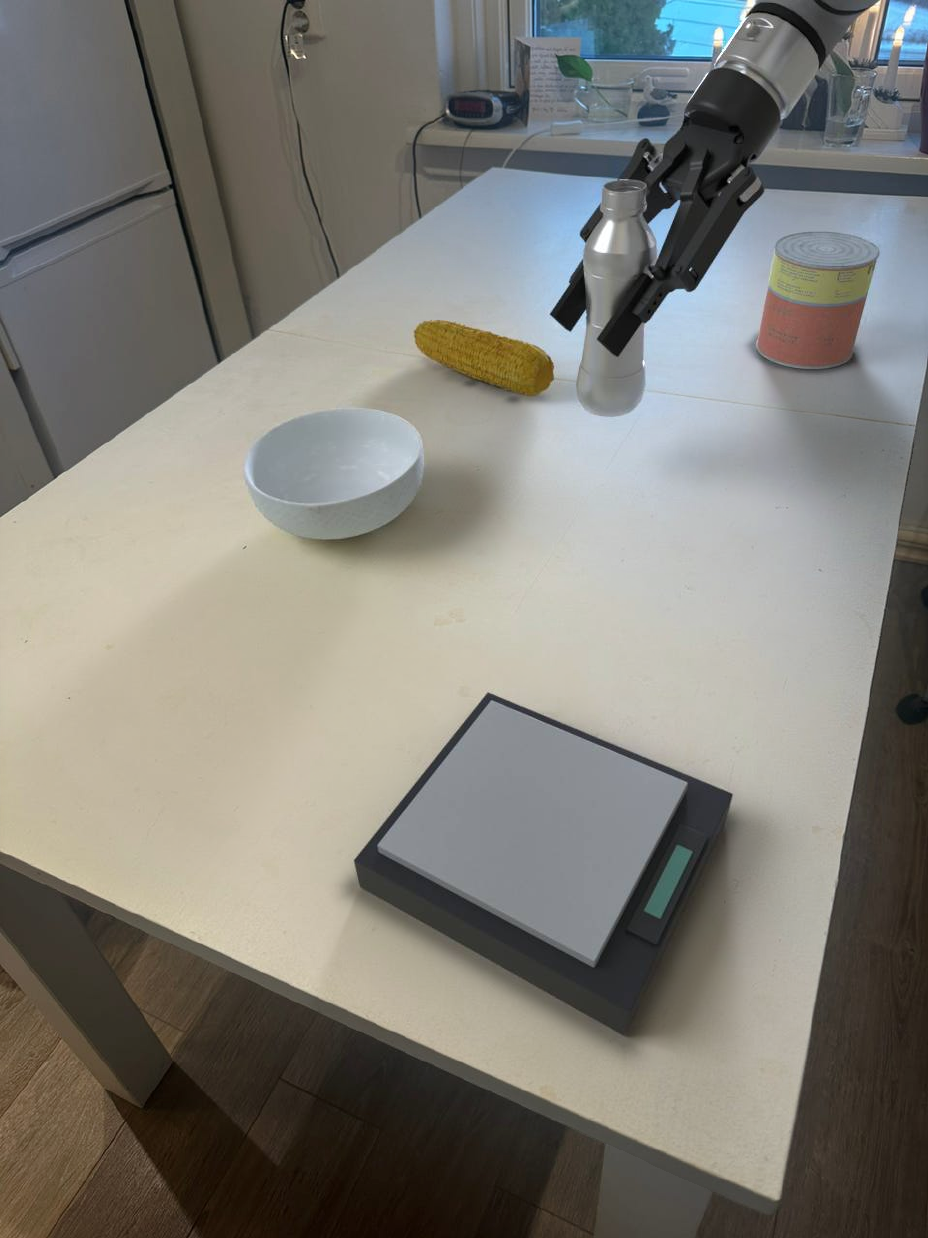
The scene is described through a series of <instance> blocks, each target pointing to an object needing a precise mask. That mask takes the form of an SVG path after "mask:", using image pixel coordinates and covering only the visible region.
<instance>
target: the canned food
mask: <svg viewBox="0 0 928 1238" xmlns="http://www.w3.org/2000/svg"><path fill="white" fill-rule="evenodd" d="M773 250H774V251H773V256H772V261H771V267H770V273H769V278H768V283H767V287H766V288H767V289H766V294H765V298H764V299H765V300H764V304H763V310H762V313H761V314H762V315H761V320H760V326H759V331H758V336H757V340H756V343H755V349H756V351H757V352H758V353H759V354H760V355H761V356H762V357H763V358H764V359H766V360H768V361H770V362H772V363H775V364H777V365H781V366H783V367H784V366H785V367H788V368H793V369H799V370H800V369H801V370H824V369H825V370H826V369H831V368H836V367H838V366H841V365H844V364H845V363H847V362H849V361H850V360H851V358H852V357H853V354H854V347H855V342H856V339H857V336H858V331H859V328H860V325H861V320H862V317H863V313H864V310H865V306H866V302H867V299H868V298H867V297H868V295H869V290H870V288H871V287H870V286H871V283H872V279H873V275H874V272H875V268H876V265H877V262H878V261H877V260H878V258H879V257H880V249H879V247H878V246H877V245H876V244H875V243H873V242H872V241H870V240H868V239H865V238H863V237H860V236H856V235H852V234H848V233H842V232H834V231H804V232H803V231H802V232H797V233H792V234H788V235H785V236H783V237H781V238H779V239H778V240H777V241H776V242H775V243H774V247H773Z"/></svg>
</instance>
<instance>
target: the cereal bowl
mask: <svg viewBox="0 0 928 1238" xmlns="http://www.w3.org/2000/svg"><path fill="white" fill-rule="evenodd" d="M424 470H425V452H424V445H423V439H422V437H421V434H420V433H419V431H418V430H417V429H416V427H415V426H414V425H413V424H412V423H411V422H409V421H408V420H406V419H405V418H403V417H401V416H399V415H396V414H394V413H390V412H387V411H383V410H378V409H372V408H364V407H363V408H362V407H338V408H329V409H324V410H323V409H322V410H317V411H313V412H308V413H305V414H302V415H299V416H296V417H292V418H290V419H287V420H285V421H283V422H281V423H279V424H277V425H275V426H273V427H272V428H270V429H268V430H267V431H266V432H264V433H263V434H262V435H261V436H259V437H258V438H257V439H256V440H255V441H254V442H253V443H252V444H251V446H250V447H249V448H248V450H247V451H246V454H245V457H244V459H243V464H242V472H243V473H242V474H243V478H244V482H245V485H246V487H247V491H248V493H249V496H250V498H251V501H253V503H254V506H255V507H256V508H257V510H258V512H259V513H260V514H261V515H262V516H263V517H264V518H265V519H266V520H267V521H268V522H269V523H271V524H272V525H274V526H275V527H277V528H278V529H280V530H282V531H283V532H285V533H289V534H291V535H294V536H297V537H300V538H305V539H312V540H323V541H326V540H340V539H342V540H343V539H347V538H353V537H358V536H361V535H365V534H367V533H371V532H373V531H375V530H377V529H379V528H382V527H383V526H386V525H387V524H388V523H390V522H392V521H393V520H394V519H396V518H397V517H398V516H399V515H401V514H402V513H403V512H404V511H406V509H408V507H409V505H411V503H412V502H413V500H414V499H415V498H416V495H417V494H418V492H419V490H420V488H421V486H422V485H421V484H422V482H423V476H424Z"/></svg>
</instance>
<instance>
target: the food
mask: <svg viewBox="0 0 928 1238" xmlns="http://www.w3.org/2000/svg"><path fill="white" fill-rule="evenodd" d="M413 333H414V335H413V337H414V344H415V346H416V347H417V349H418V350H419V351H420V352H421V353H422V354H424V355H425V356H426V357H428V358H429V359H431V360H433V361H435V362H436V363H439V364H441V365H442V366H445V367H447V368H450V369H453V371H455V372H457V373H461V374H464V375H465V376H467V377H470V378H472V379H474V380H479V381H482V382H484V383H486V384H489V385H491V386H497V387H499V388H500V389H505V390H507V391H509V392H512V393H515V394H520V395H522V396H523V395H525V396H529V397H530V396H531V397H533V396H538V395H540V394H541V393H543V392H544V391H546V390H547V389H549V387H551V384H552V382H553V381H555V373H554V369H555V364H554V362H553V361H552V357H551V356H550V355H549V354H548V353H547V352H546V351H545V350H543V348H541V347H539V346H537V345H535V344H532V343H529V342H527V341H523V340H519V339H514V338H510V337H507V336H505V335H503V336H502V335H499V334H495V333H492V332H491V331H488V330H483V329H480V328H473V327H471V326H467V325H466V324H461V323H458V322H456V321H448V320H442V319H436V320H433V319H430V320H423V322H419V324H418V325H417V326H416V329H415V330H413Z"/></svg>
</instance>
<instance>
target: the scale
mask: <svg viewBox="0 0 928 1238" xmlns="http://www.w3.org/2000/svg"><path fill="white" fill-rule="evenodd" d="M432 760H433V761H432V762H431V763H430V764H429V765H428V766H427V768H426V769H425V770H424V771H423V773H422V774H421V775H420V777H419V778H418V779H417V781H416V782H415V783H414V784H413V785H412V787H411V788H410V789H409V790H408V792H407V793H406V794H405V795H404V797H403V798H402V799H401V800H400V802H398V804H397V806H395V807H394V809H393V811H392V812H391V813H390V814H389V816H388V817H387V818H386V819H385V821H384V822H383V823H382V824H381V826H380V827H379V828H378V829H377V830H376V832H375V833H374V834H373V836H372V837H371V838H370V839H369V840H368V842H367V843H366V845H365V846H363V848H362V849H361V851H360V852H358V854H357V855H356V857H355V858H354V859H353V863H354V868H355V872H356V876H357V880H358V885H359V887H360V888H361V889H363V890H365V891H366V892H368V893H370V894H371V895H374V896H376V898H379V899H380V900H382V901H384V902H386V903H388V904H389V905H392V906H393V907H395V908H396V909H398V910H400V911H402V912H404V913H405V914H407V915H409V916H411V917H412V918H414V919H416V920H417V921H419V922H422V923H423V924H425V925H427V926H429V927H430V928H432V929H434V930H436V931H437V932H439V933H441V934H443V935H444V936H446V937H448V938H450V939H451V940H453V941H455V942H457V943H459V944H461V946H464V947H466V948H467V949H469V950H471V951H473V952H475V953H476V954H478V955H480V956H482V957H484V958H485V959H487V960H489V961H491V962H492V963H494V964H496V965H498V966H500V967H501V968H503V969H505V970H506V971H508V972H510V973H512V974H514V975H515V976H518V977H519V978H521V979H523V980H524V981H526V982H527V983H530V984H531V985H533V986H535V987H536V988H538V989H540V990H541V991H544V992H546V993H547V994H549V995H551V996H552V997H555V998H556V999H558V1000H559V1001H561V1002H564V1003H565V1004H567V1005H568V1006H570V1007H572V1008H574V1009H576V1010H578V1011H579V1012H581V1013H582V1014H584V1015H586V1016H588V1017H590V1018H591V1019H594V1020H595V1021H597V1022H599V1023H600V1024H602V1025H604V1026H606V1027H608V1028H610V1029H611V1030H612V1031H615V1032H617V1033H619V1034H620V1035H622V1036H624V1037H626V1036H627V1034H628V1032H629V1030H630V1027H631V1025H632V1024H633V1021H634V1020H635V1017H636V1015H637V1013H638V1010H639V1009H640V1006H641V1004H642V1002H643V1000H644V998H645V995H646V994H647V991H648V989H649V988H650V985H651V983H652V981H653V978H654V976H655V974H656V972H657V970H658V968H659V965H660V964H661V961H662V959H663V957H664V955H665V953H666V951H667V949H668V946H669V944H670V942H671V940H672V938H673V935H674V933H675V931H676V928H677V927H678V925H679V923H680V920H681V918H682V916H683V914H684V912H685V910H686V908H687V905H688V903H689V901H690V899H691V897H692V895H693V893H694V890H695V888H696V887H697V884H698V882H699V880H700V878H701V875H702V873H703V871H704V869H705V867H706V865H707V862H708V861H709V858H710V856H711V854H712V852H713V850H714V848H715V846H716V844H717V842H718V839H719V837H720V835H721V833H722V831H723V828H724V827H725V824H726V822H727V818H728V815H729V811H730V807H731V803H732V799H733V795H734V794H733V793H732V792H729V791H727V790H725V789H723V788H720V787H718V786H716V785H712V784H710V783H708V782H706V781H704V780H701V779H699V778H696V777H693V776H691V775H689V774H686V773H684V772H681V771H679V770H676V769H674V768H672V767H670V766H667V765H664V764H663V763H660V762H658V761H655V760H653V759H650V758H648V757H646V756H643V755H641V754H639V753H636V752H633V751H632V750H629V749H626V748H624V747H621V746H619V745H617V744H614V743H612V742H609V741H607V740H605V739H602V738H600V737H597V736H595V735H592V734H590V733H587V732H585V731H583V730H581V729H578V728H575V727H573V726H571V725H569V724H566V723H564V722H561V721H559V720H556V719H554V718H552V717H549V716H547V715H545V714H543V713H539V712H537V711H535V710H532V709H530V708H528V707H525V706H523V705H520V704H518V703H516V702H514V701H511V700H508V699H506V698H503V697H501V696H499V695H496V694H493V693H492V692H489V691H488V692H487V693H485V695H484V697H483V698H482V699H481V700H480V701H479V702H478V704H477V705H476V706H475V708H474V709H473V710H472V711H471V712H470V714H469V715H468V716H467V718H466V719H465V720H464V722H463V723H462V724H461V725H460V726H459V728H458V729H457V730H456V731H455V732H454V734H453V735H452V736H451V737H450V739H449V740H448V741H447V742H446V744H445V745H444V746H443V748H442V749H441V750H440V751H439V752H438V754H437V755H436V757H434V759H432Z"/></svg>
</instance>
